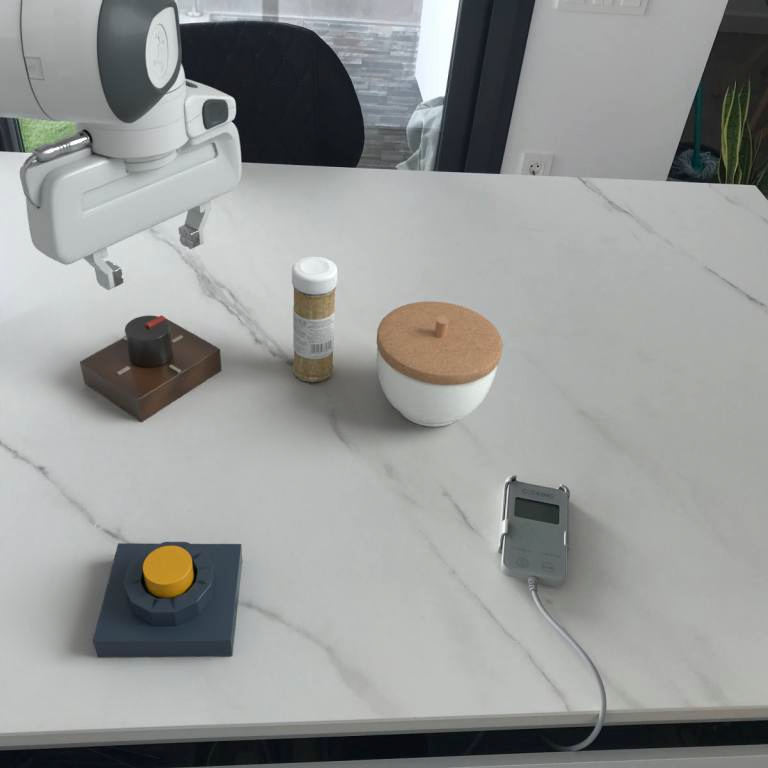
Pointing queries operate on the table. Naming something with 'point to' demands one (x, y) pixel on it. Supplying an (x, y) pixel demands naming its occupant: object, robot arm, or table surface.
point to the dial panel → (151, 373)
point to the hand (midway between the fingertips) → (153, 263)
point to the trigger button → (168, 571)
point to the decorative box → (436, 361)
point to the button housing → (170, 605)
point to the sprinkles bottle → (313, 317)
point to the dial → (149, 341)
